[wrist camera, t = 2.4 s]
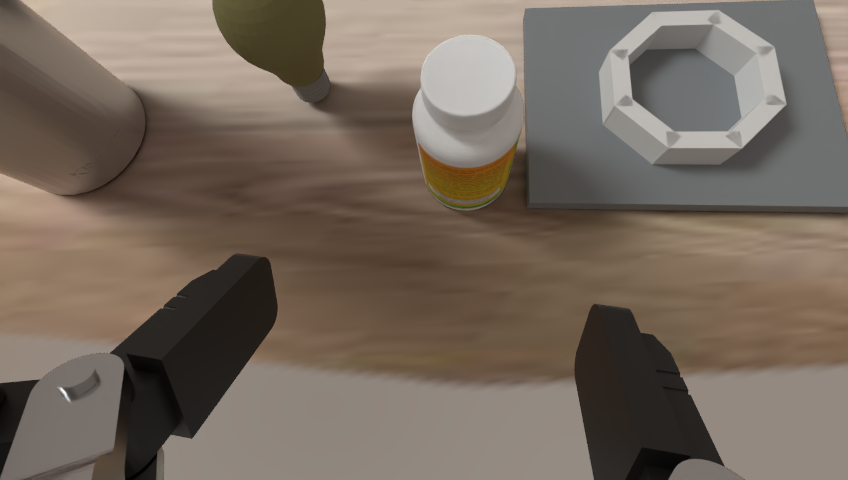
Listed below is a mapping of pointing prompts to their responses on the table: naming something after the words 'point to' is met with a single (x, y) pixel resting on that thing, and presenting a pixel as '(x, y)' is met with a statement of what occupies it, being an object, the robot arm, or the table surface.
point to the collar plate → (682, 109)
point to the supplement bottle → (467, 121)
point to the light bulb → (279, 40)
